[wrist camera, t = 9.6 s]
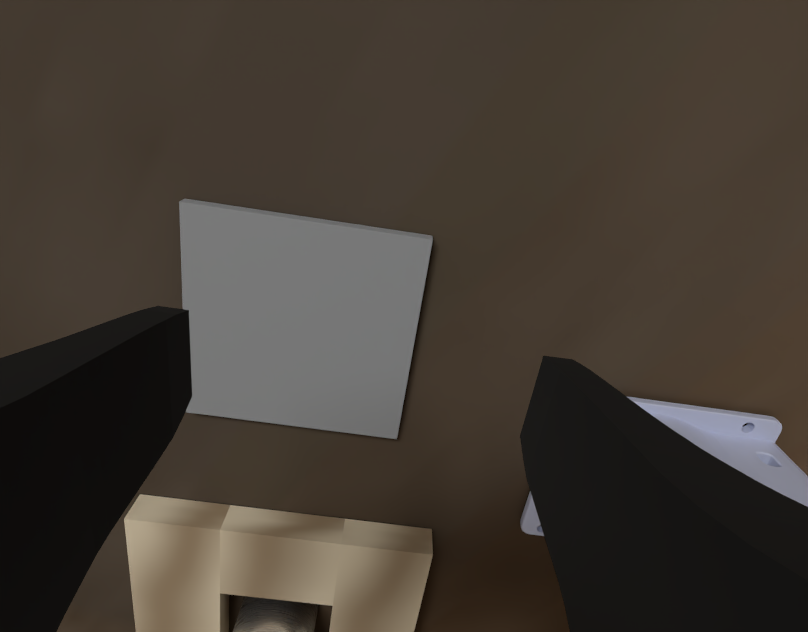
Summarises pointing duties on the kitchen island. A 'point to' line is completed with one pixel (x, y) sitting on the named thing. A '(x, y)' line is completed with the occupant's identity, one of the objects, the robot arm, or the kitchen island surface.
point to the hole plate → (270, 565)
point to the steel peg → (275, 616)
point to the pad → (300, 317)
